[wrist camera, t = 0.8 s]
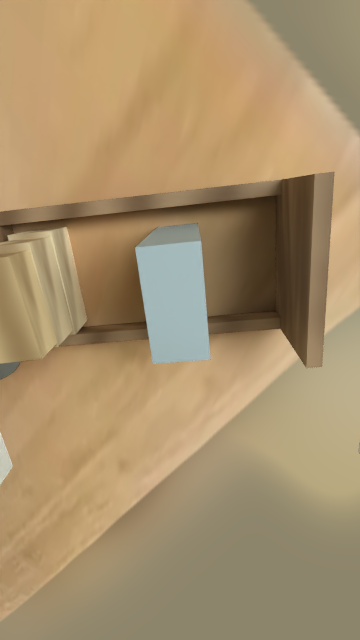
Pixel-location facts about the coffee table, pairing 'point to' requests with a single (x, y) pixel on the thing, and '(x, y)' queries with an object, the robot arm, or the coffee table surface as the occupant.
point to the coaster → (7, 368)
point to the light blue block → (174, 293)
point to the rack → (291, 257)
